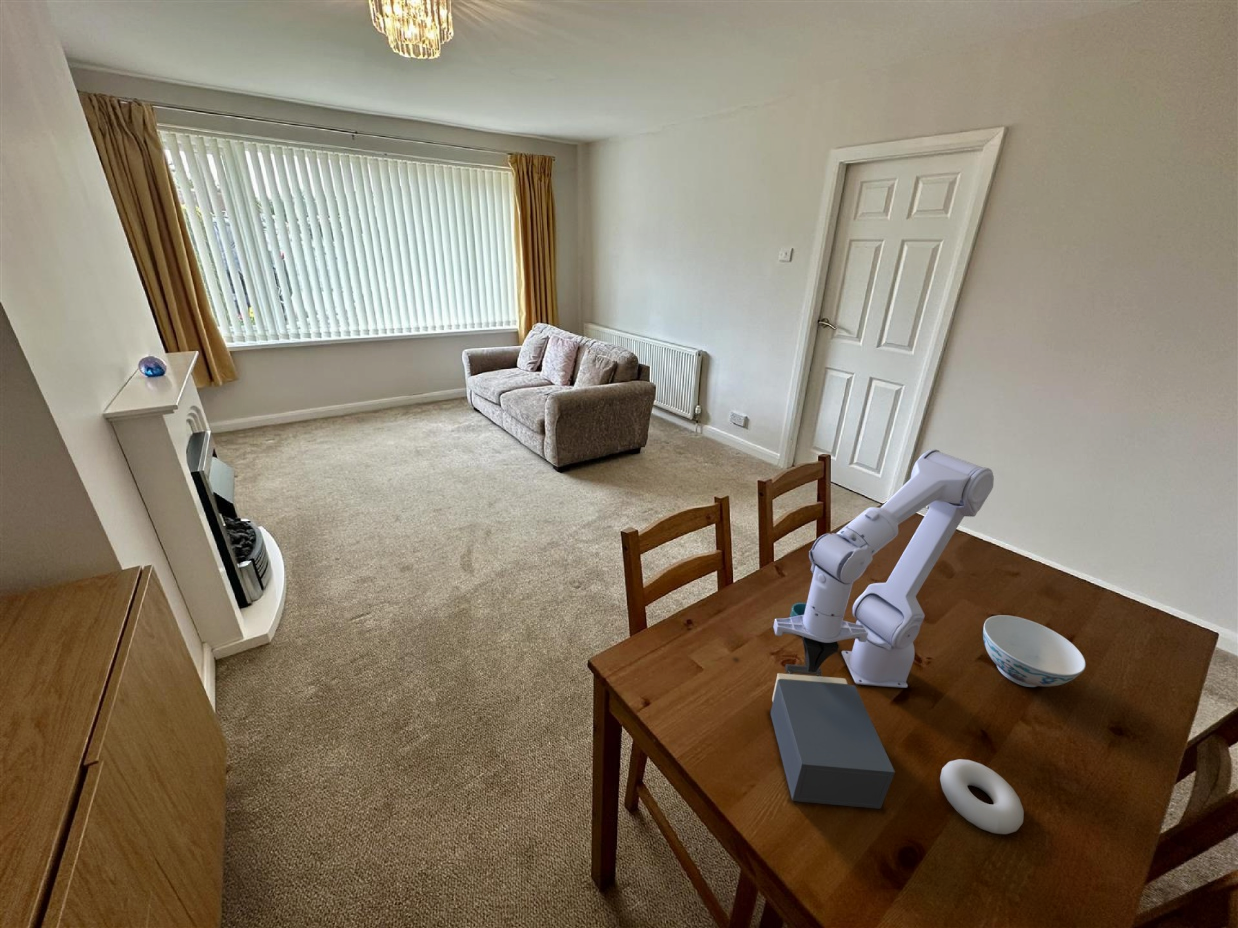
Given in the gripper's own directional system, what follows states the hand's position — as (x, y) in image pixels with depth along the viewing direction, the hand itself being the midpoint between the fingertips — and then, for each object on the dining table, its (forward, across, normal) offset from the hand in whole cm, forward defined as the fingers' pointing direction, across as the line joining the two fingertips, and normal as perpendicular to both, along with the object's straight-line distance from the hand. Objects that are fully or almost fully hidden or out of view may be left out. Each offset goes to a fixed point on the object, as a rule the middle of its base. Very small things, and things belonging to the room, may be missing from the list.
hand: (810, 667), depth 83 cm
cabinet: (+8, 0, +10) cm, 13 cm away
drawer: (+7, 0, +6) cm, 9 cm away
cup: (+8, -5, -19) cm, 21 cm away
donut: (+8, -21, +16) cm, 27 cm away
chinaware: (+8, -44, -10) cm, 46 cm away
